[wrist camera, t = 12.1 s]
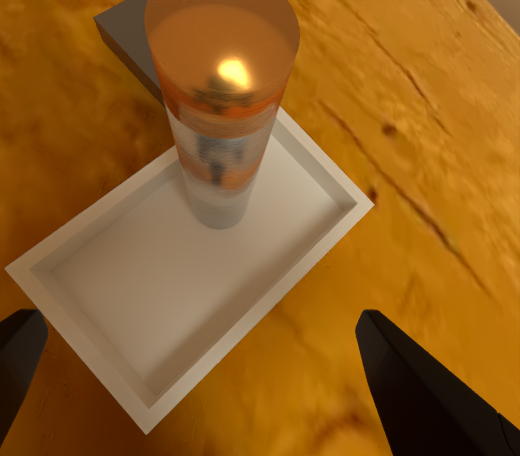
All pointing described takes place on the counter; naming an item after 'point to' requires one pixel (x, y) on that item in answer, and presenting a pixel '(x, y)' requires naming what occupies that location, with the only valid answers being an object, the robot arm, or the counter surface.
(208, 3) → the pin
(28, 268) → the parts tray
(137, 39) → the grey flat square frame
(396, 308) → the counter surface
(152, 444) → the counter surface
